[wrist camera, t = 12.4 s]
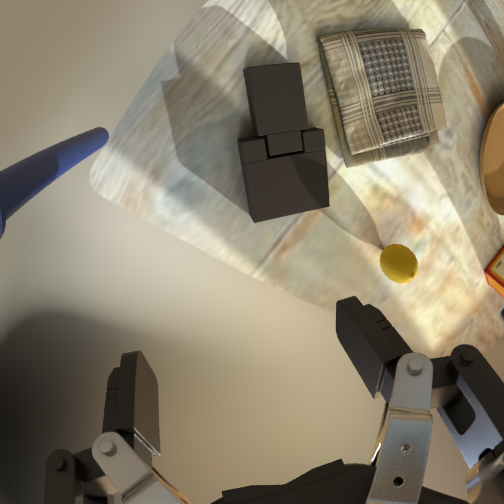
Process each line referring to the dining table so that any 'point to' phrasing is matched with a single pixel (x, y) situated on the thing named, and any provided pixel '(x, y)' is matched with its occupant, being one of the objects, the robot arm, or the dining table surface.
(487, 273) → the baking soda box
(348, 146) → the dish towel
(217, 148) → the dining table surface
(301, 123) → the pad
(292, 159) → the notch pad
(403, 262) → the lemon
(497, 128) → the plant saucer
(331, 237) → the dining table surface
